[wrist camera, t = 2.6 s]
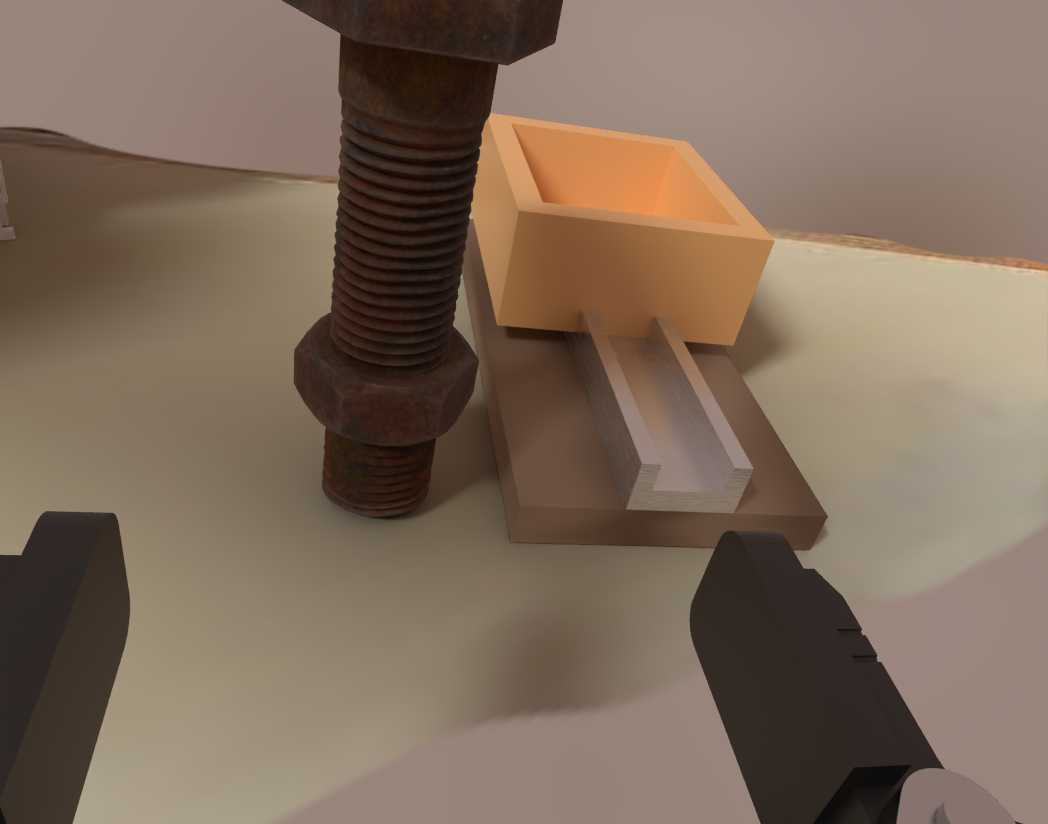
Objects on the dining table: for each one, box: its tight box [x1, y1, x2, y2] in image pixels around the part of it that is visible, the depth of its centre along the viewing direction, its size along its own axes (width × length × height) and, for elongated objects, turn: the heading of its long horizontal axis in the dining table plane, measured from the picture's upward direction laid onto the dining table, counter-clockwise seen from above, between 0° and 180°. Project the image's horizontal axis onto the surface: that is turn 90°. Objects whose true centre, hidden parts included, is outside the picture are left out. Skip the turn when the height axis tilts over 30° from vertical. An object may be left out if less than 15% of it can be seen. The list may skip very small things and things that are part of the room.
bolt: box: [283, 0, 563, 517], centre depth 21 cm, size 6×5×15 cm
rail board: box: [462, 219, 828, 550], centre depth 33 cm, size 10×20×2 cm, turn 8°
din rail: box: [564, 309, 754, 513], centre depth 32 cm, size 4×20×2 cm, turn 9°
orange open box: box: [471, 113, 774, 346], centre depth 34 cm, size 10×10×4 cm
